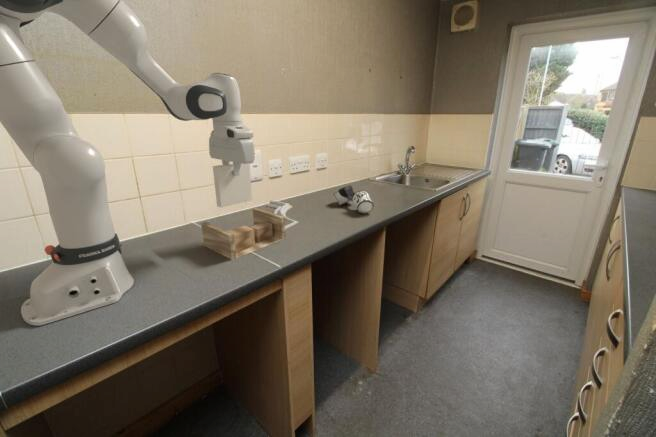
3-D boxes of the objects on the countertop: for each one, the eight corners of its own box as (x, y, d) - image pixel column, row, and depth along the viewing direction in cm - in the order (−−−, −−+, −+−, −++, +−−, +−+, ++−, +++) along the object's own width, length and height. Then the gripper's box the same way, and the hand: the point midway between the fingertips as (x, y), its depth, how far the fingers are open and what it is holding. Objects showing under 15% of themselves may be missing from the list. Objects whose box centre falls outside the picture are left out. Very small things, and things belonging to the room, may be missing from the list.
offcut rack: (232, 264, 94) (229, 235, 91) (204, 249, 104) (201, 223, 101) (285, 241, 110) (284, 216, 107) (257, 231, 120) (255, 207, 117)
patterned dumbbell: (378, 214, 140) (379, 192, 137) (360, 217, 135) (361, 195, 132) (347, 200, 161) (347, 181, 157) (330, 203, 156) (330, 183, 153)
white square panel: (221, 207, 99) (217, 167, 95) (217, 206, 101) (212, 166, 97) (252, 200, 108) (249, 162, 104) (247, 198, 109) (244, 161, 105)
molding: (265, 205, 154) (265, 200, 153) (290, 203, 157) (289, 198, 156) (274, 237, 115) (274, 230, 114) (306, 234, 118) (306, 227, 117)
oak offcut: (234, 253, 98) (232, 236, 96) (225, 249, 101) (223, 232, 99) (255, 245, 103) (253, 228, 101) (246, 241, 106) (244, 225, 104)
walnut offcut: (258, 242, 105) (257, 229, 104) (251, 239, 108) (249, 226, 106) (272, 237, 110) (272, 224, 109) (265, 234, 113) (264, 221, 111)
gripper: (201, 129, 101) (206, 172, 105) (239, 132, 88) (242, 180, 93) (219, 129, 105) (223, 169, 110) (256, 132, 93) (259, 177, 97)
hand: (232, 174), depth 101 cm, fingers closed on white square panel, 2 cm apart
